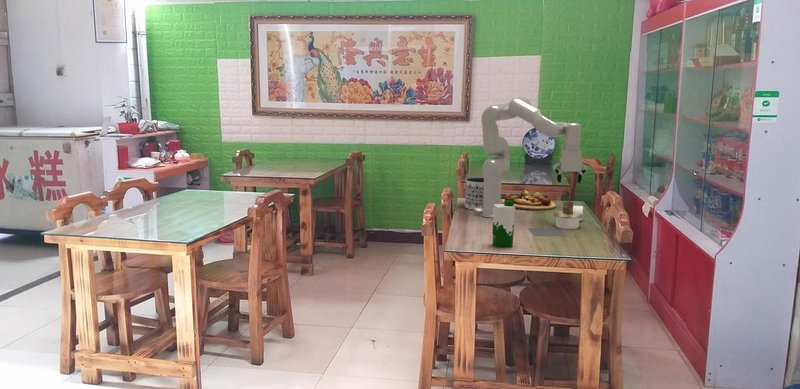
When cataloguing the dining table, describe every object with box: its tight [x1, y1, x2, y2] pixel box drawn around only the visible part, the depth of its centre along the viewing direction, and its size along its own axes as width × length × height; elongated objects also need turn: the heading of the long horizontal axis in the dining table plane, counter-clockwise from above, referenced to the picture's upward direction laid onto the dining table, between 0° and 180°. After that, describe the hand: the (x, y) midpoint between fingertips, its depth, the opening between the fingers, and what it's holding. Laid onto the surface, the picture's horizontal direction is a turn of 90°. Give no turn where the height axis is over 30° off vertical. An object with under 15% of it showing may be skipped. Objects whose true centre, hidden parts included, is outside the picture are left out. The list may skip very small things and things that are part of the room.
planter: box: [464, 177, 484, 211], centre depth 364 cm, size 18×18×16 cm
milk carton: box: [491, 200, 516, 248], centre depth 278 cm, size 9×9×20 cm
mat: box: [527, 227, 569, 237], centre depth 304 cm, size 16×16×1 cm
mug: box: [573, 205, 584, 222], centre depth 335 cm, size 12×10×8 cm
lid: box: [553, 200, 583, 218], centre depth 315 cm, size 14×14×7 cm
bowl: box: [555, 216, 580, 230], centre depth 317 cm, size 11×11×6 cm
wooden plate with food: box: [501, 189, 557, 212], centre depth 374 cm, size 32×32×8 cm
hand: (569, 182), depth 313 cm, fingers open, 9 cm apart
